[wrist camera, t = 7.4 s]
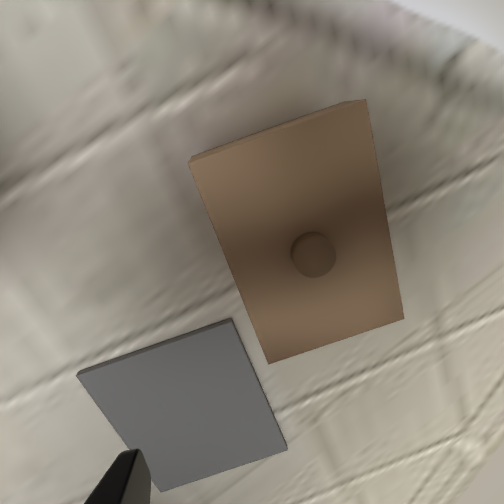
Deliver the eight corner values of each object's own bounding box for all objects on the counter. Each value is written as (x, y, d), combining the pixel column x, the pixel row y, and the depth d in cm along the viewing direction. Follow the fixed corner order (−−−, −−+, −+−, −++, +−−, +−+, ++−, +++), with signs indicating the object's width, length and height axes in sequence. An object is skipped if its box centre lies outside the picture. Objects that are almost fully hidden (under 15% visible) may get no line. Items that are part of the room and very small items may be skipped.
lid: (382, 294, 17) (414, 328, 14) (262, 335, 17) (271, 376, 15) (343, 101, 13) (376, 97, 11) (192, 156, 14) (186, 166, 11)
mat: (286, 445, 25) (287, 450, 25) (161, 486, 25) (160, 492, 25) (231, 317, 20) (231, 321, 20) (78, 371, 21) (76, 376, 20)
